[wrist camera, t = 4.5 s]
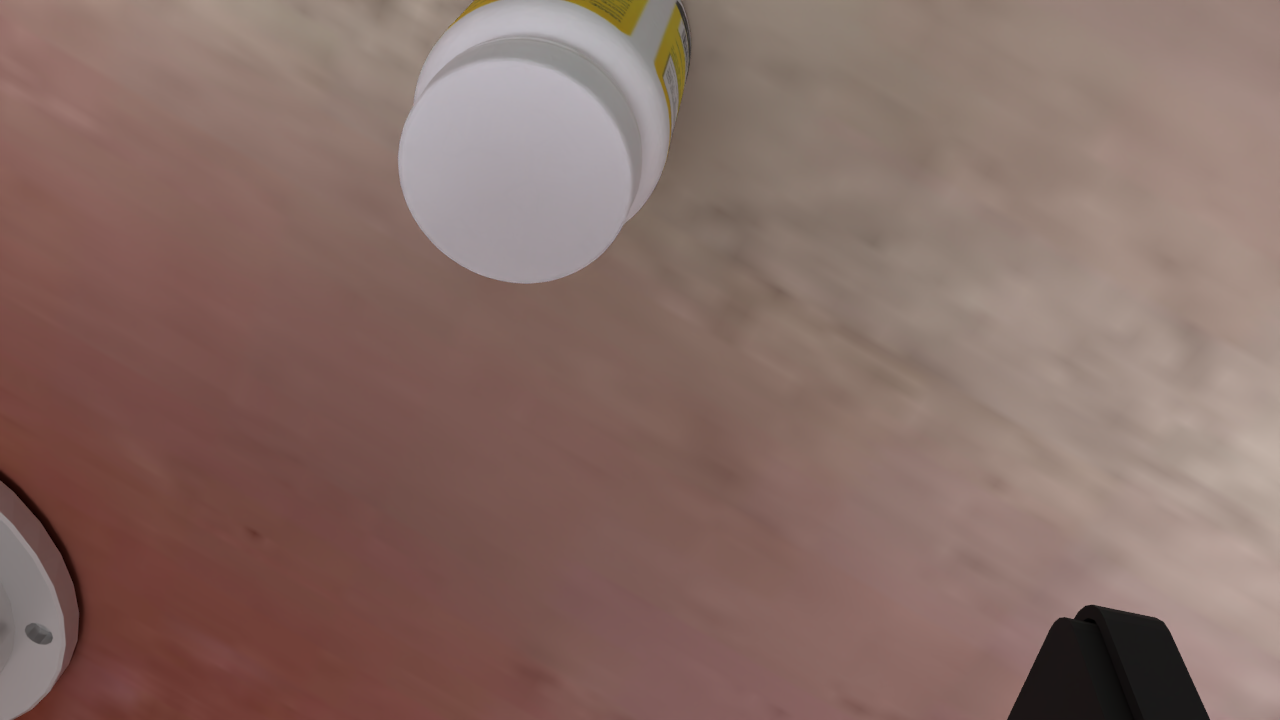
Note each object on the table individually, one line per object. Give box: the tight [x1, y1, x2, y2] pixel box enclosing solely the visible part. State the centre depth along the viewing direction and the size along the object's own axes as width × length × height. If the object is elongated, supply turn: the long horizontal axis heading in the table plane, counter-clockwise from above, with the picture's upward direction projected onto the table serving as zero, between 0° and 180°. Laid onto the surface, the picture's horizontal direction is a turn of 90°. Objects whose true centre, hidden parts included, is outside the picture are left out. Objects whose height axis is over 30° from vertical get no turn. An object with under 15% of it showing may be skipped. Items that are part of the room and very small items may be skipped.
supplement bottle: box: [398, 0, 691, 284], centre depth 23 cm, size 5×5×8 cm
